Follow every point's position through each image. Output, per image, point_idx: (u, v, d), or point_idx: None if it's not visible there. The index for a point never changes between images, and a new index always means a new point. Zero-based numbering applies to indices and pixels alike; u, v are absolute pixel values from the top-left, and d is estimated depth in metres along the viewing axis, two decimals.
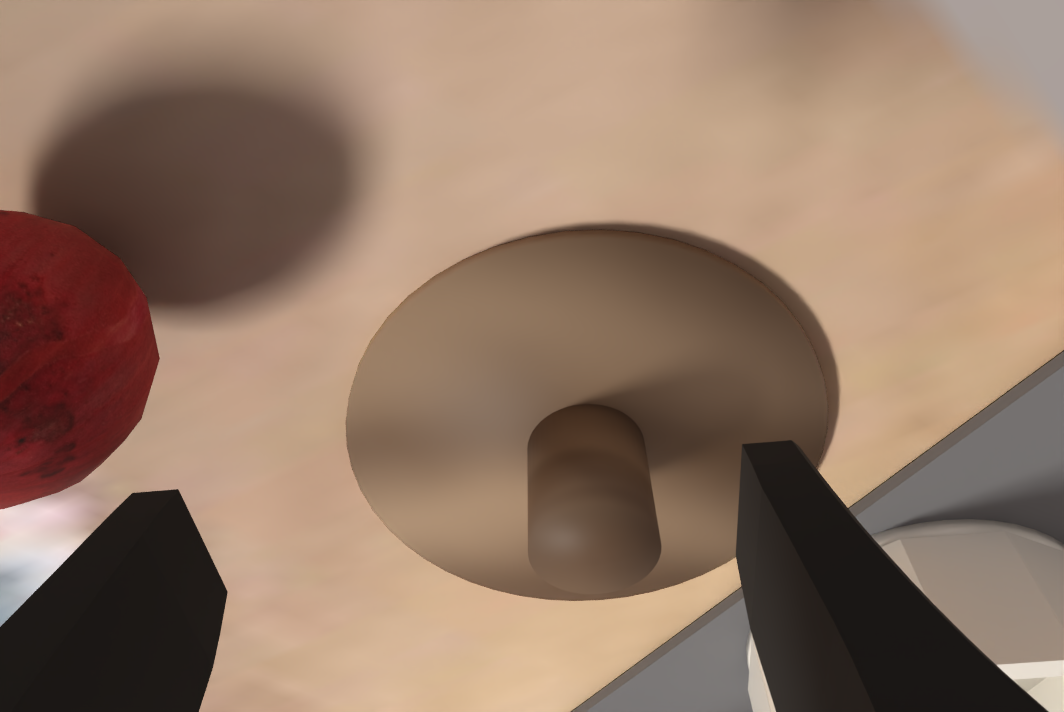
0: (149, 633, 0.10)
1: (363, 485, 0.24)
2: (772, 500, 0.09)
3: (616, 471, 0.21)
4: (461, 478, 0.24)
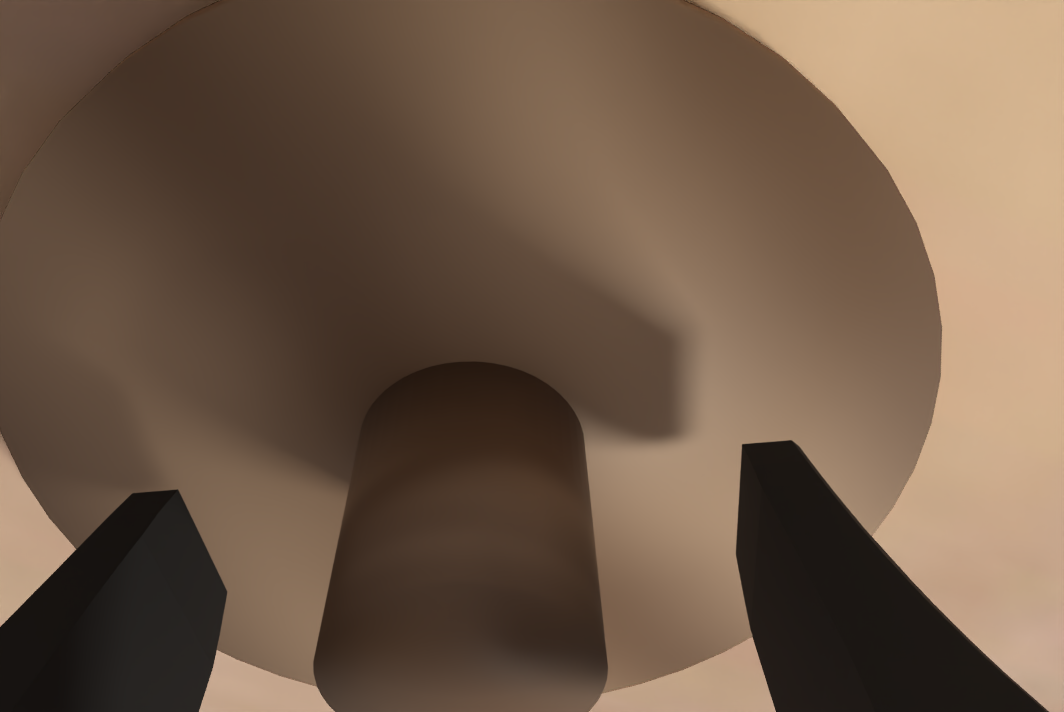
0: (149, 633, 0.10)
1: None
2: (772, 500, 0.09)
3: None
4: (658, 551, 0.14)
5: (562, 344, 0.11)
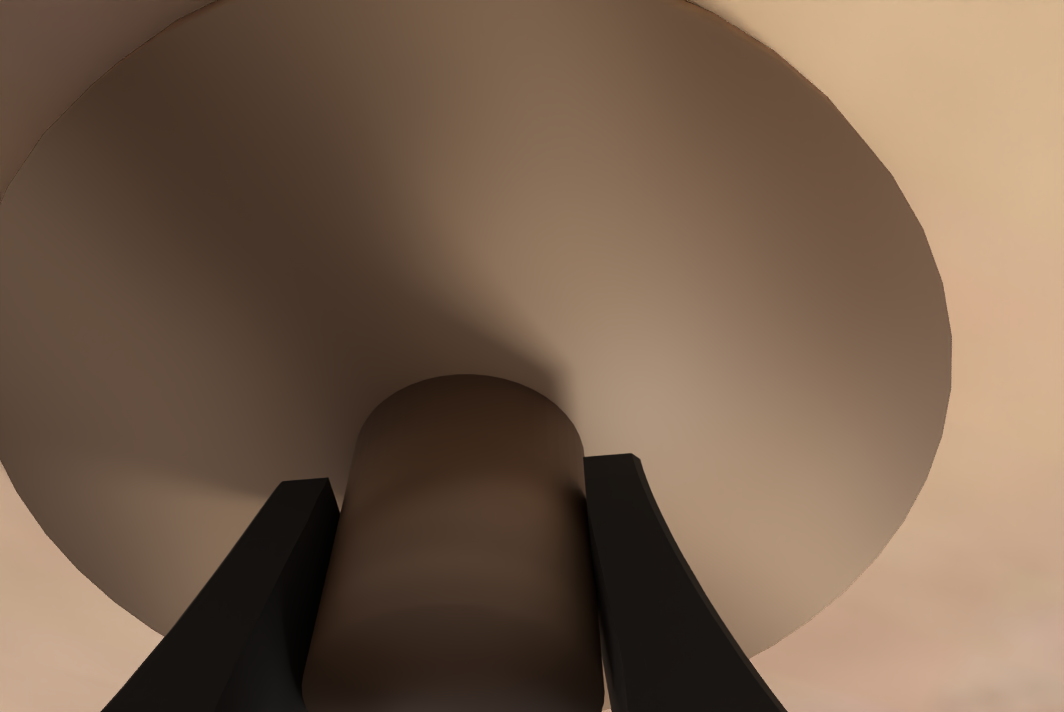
0: (312, 621, 0.10)
1: (759, 647, 0.15)
2: (593, 514, 0.09)
3: None
4: None
5: (559, 356, 0.11)
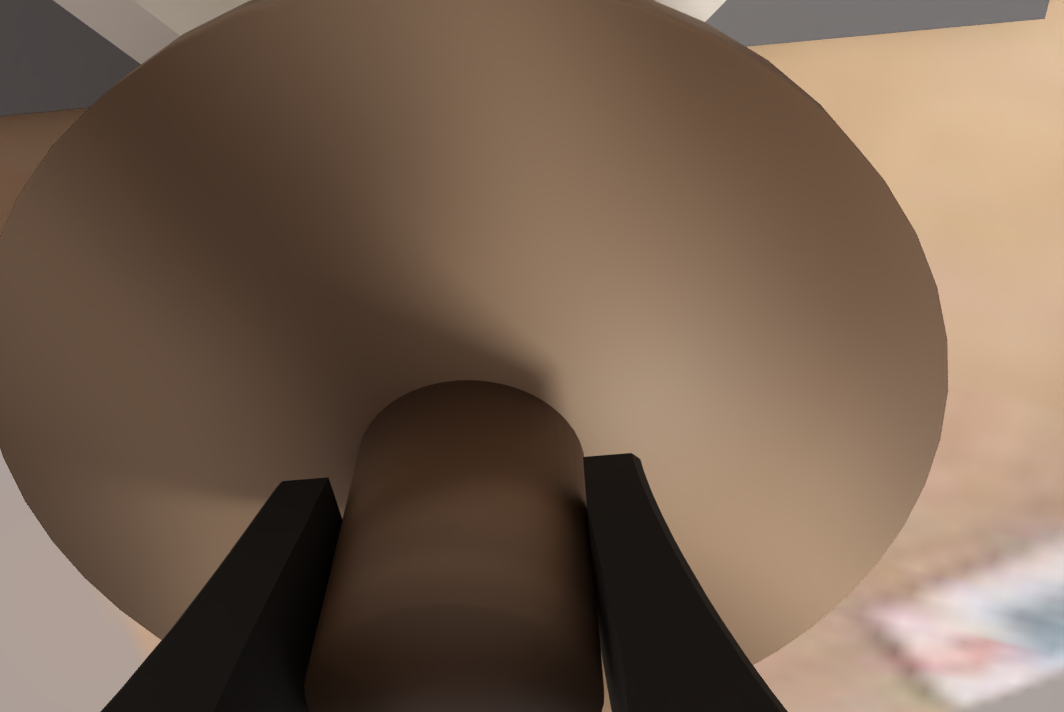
0: (312, 621, 0.10)
1: (762, 653, 0.15)
2: (593, 514, 0.09)
3: None
4: None
5: (558, 361, 0.11)
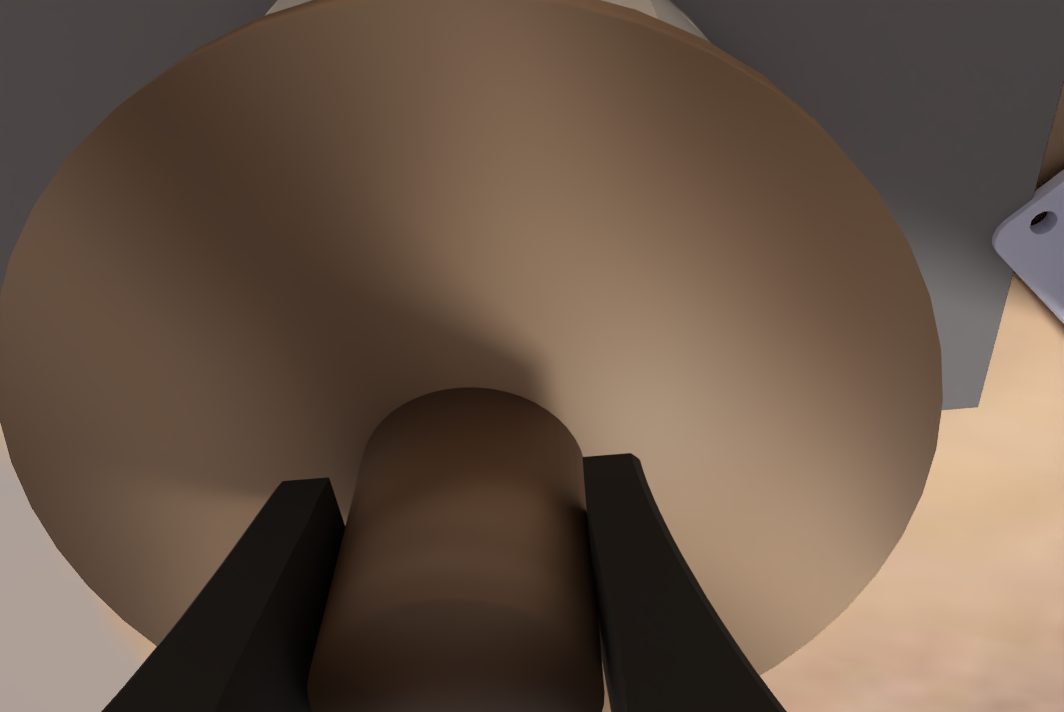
0: (313, 621, 0.10)
1: (762, 667, 0.15)
2: (592, 514, 0.09)
3: None
4: None
5: (560, 368, 0.11)
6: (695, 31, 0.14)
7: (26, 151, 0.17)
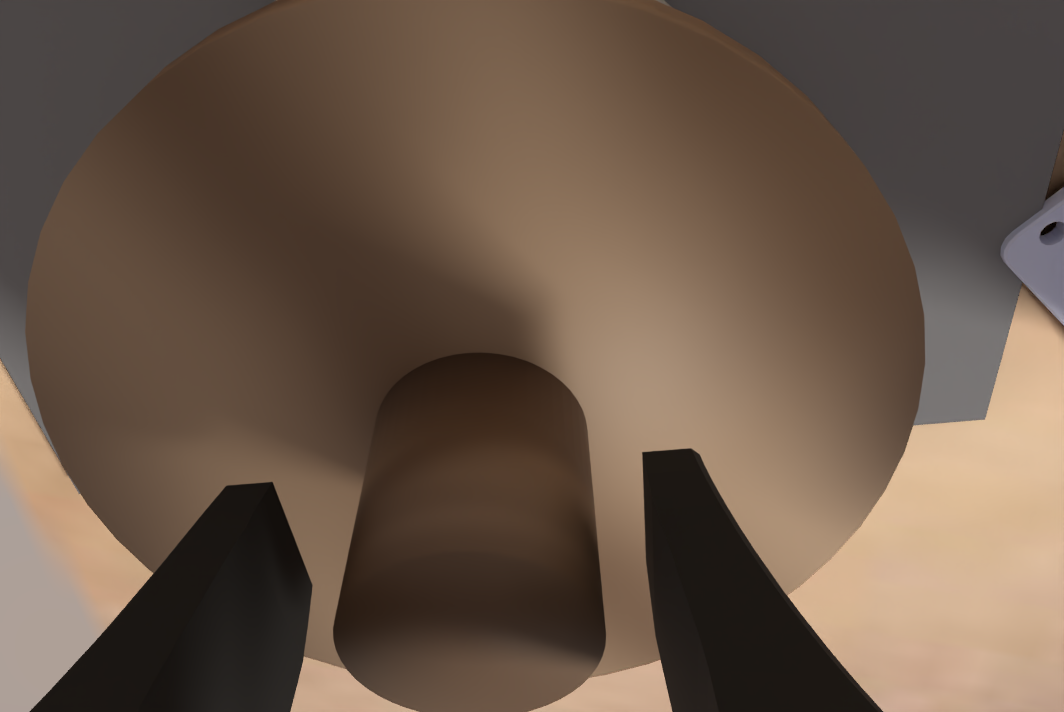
0: (251, 626, 0.10)
1: None
2: (660, 509, 0.09)
3: None
4: None
5: (563, 335, 0.12)
6: None
7: (13, 161, 0.16)
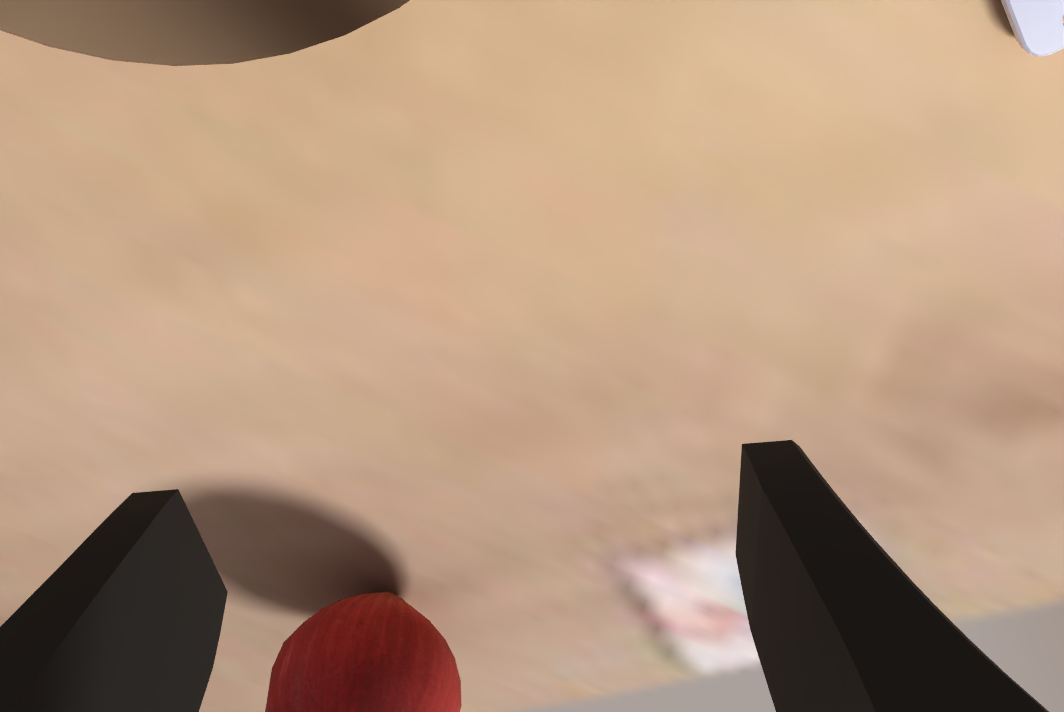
0: (149, 633, 0.10)
1: None
2: (772, 500, 0.09)
3: None
4: None
5: None
6: None
7: None
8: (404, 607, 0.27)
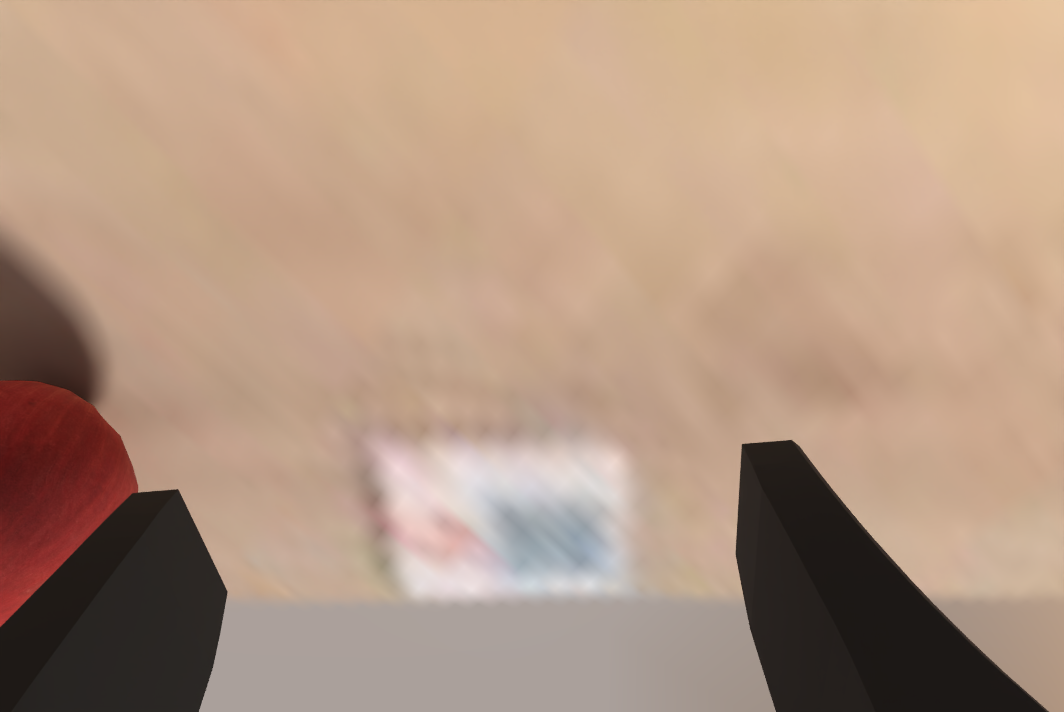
0: (149, 633, 0.10)
1: None
2: (772, 500, 0.09)
3: None
4: None
5: None
6: None
7: None
8: (93, 409, 0.21)
